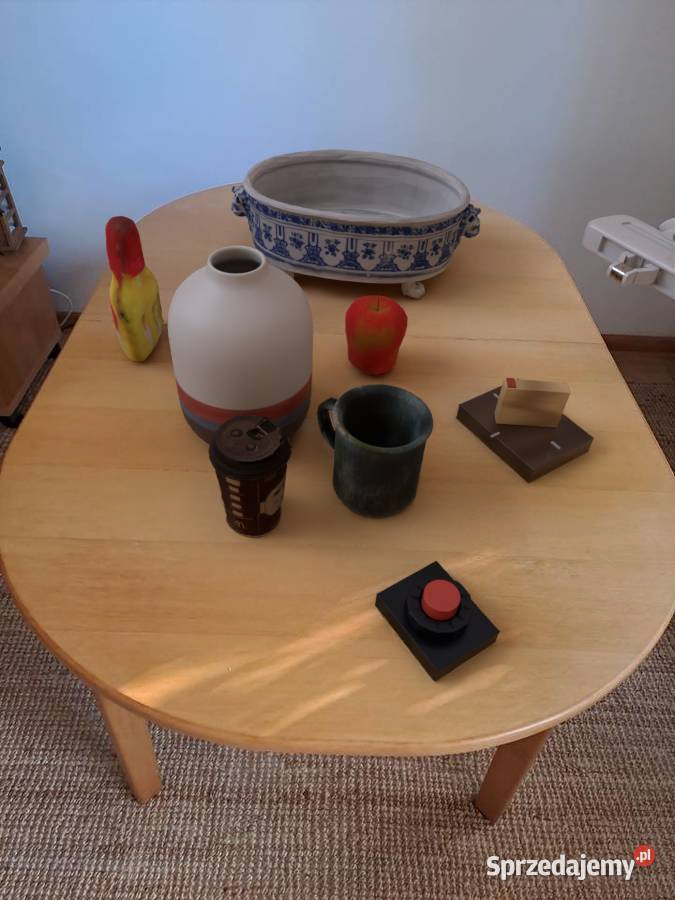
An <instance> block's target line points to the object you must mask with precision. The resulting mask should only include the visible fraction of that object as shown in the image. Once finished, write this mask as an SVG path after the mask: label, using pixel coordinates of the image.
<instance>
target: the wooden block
mask: <svg viewBox="0 0 675 900" xmlns="http://www.w3.org/2000/svg"><path fill="white" fill-rule="evenodd" d="M501 386H502V388H501V392H500V395H499V399H498V402H497V406H496V409H495V413H494V414H495V420H496V423H497V424H512V425H527V426H542V427H558V424H559V421H560V419H561V416H562V414H564V411H565V408H566V406H567V404H568V400H569V398H570V395H571V389H570V385H569V383H568V382H567V381H566V382H565V381H550V380H535V379H520V378H519V379H518V378H514V377H506V378H505V377H504V378H503V382H502V385H501Z"/></svg>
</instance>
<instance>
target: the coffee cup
mask: <svg viewBox="0 0 675 900" xmlns="http://www.w3.org/2000/svg"><path fill="white" fill-rule="evenodd" d="M292 449H293V445H292V444H291V441H290V440H289V439H288V437H287V436H284V435H283V434H281V431H280V428H279V427H277V422H276V421H275V420H273V419H269V417H267V416H253V415H246V414H244V415H235V416H233V417H231V418H229V419H228V420H226V421H225V422H224V423H222V424H221V425H220V426H219V428H218V429H217V430H216V433H215V435H214V436H213V438H212V439H211V442H210V444H209V447H208V459H209V460H210V464H211V465H212V468H213V469H214V472H215V476H216V479H217V483H218V487H219V491H220V498H221V500H222V503H223V506H224V513H225V516H226V517H225V522H226V524H227V525H228V527H229V528H230V529H231V530H232V531H234V532H236V533H237V534H239V535H240V536H244V537H249V538H259V537H262V536H265V535H267V534H269V533H271V532H272V531H273V530H275V529H276V528H277V526H278V525H279V523H280V520H281V516H282V504H283V501H284V496H285V488H286V481H287V480H286V479H287V471H288V462H289V461H290V458H291V456H292Z"/></svg>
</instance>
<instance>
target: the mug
mask: <svg viewBox="0 0 675 900" xmlns="http://www.w3.org/2000/svg"><path fill="white" fill-rule="evenodd" d="M330 411H331V412H332V418H331V415H330ZM316 418H317V419H316V420H317V425H318V428H319V431H320V434H321V436H322V438H323V440H324V441H325V443H326V444H327V446H329V447H330V448H331V449H332V450H333V465H332V466H333V467H332V488H333V491H334V493H335V495H336V497H337V498H338V499H339V501H341V502H342V504H343V505H344V506H345V507H347V508H348V509H350V510H351V511H353V512H355V513H356V514H360V515H362V516H366V517H372V518H386V517H390V516H394V515H397V514H399V513H401V512H403V511H404V510H406V509H407V508H408V507H410V506H411V505H412V503H413V502H414V500H415V499H416V495H417V491H418V485H419V481H420V476H421V471H422V466H423V462H424V455H425V450H426V445H427V440H428V439H430V436H431V435H432V433H433V430H434V422H435V421H434V416H433V414H432V411H431V409H430V407H429V406H428V405H427V404H426V403H425V401H424V400H423V399H421V398H420V397H419V396H418V395H416V394H414V393H413V392H411V391H409V390H408V389H405V388H401V387H399V386H395V385H391V384H384V383H369V384H363V385H358V386H355V387H353V388H351V389H349V390H347V391H346V392H344V393H343V394H342V395H340V396H339V397H338V398H335V397H333V396H330V397H328V398H327V399H325V400H323V401H321V402H320V403H319V405H317V410H316ZM331 419H332V420H333V422H332V420H331ZM334 426H335V428H334Z"/></svg>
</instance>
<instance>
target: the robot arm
mask: <svg viewBox="0 0 675 900" xmlns="http://www.w3.org/2000/svg"><path fill="white" fill-rule="evenodd" d="M581 242H582V243H581V245H582V246H581V247H583V248H584V249H585V250H587V251H589V252H591V253H592V254H594V255H595V256H598V257H599V258H601V259H603V260H605V261H606V262H608V263H610V265H609V266H608V267H607V270H606V274H605V276H606V277H607V278H609V279H610V280H612V281H615V282H616V283H617V284H619V285H621V286H622V287H624V288H625V287H627V286H630V285H635V286H636V285H638V286H650V287H652V288H653V289H655V290H657V291H659V292H660V293H662V294H664V295H666V297H669V298H670V299H672V300H674V301H675V217H673V218H669V219H667V220H665V221H664V222H662V223H660V225H658V226H657V227H654V226H652V225H650V224H648V223H646V222H644V221H642V220H641V219H638V218H636V217H633V216H631V215H629V214H612V215H608V216H602V217H599V218H594V219H591V220H590V221H589V222H588V223H587V225H586V227H585V230H584V233H583V237H582V241H581Z"/></svg>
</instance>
